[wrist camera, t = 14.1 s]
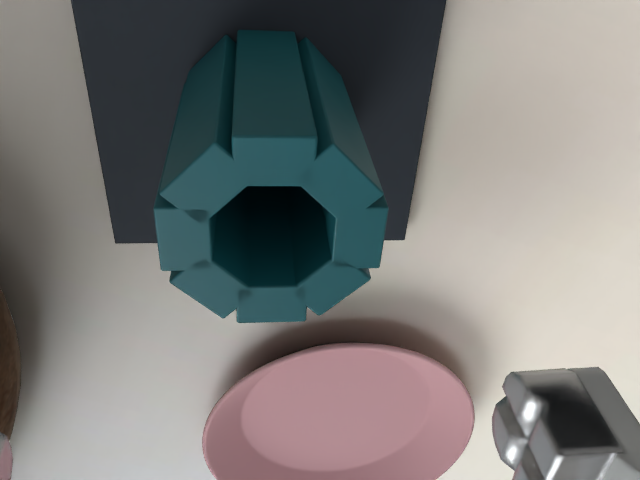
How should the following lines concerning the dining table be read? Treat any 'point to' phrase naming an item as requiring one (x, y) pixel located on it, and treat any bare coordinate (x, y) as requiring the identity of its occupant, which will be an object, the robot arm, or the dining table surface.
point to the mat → (226, 19)
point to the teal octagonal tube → (268, 184)
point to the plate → (341, 417)
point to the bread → (8, 369)
